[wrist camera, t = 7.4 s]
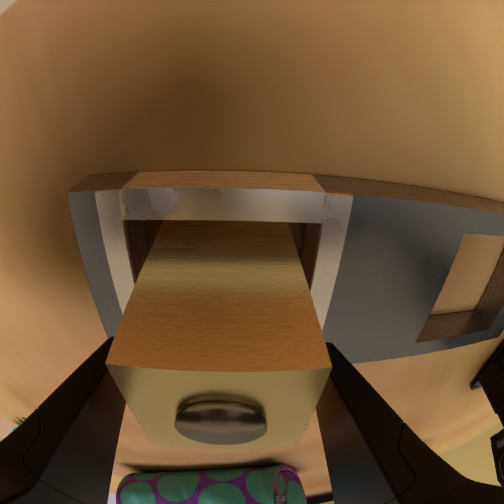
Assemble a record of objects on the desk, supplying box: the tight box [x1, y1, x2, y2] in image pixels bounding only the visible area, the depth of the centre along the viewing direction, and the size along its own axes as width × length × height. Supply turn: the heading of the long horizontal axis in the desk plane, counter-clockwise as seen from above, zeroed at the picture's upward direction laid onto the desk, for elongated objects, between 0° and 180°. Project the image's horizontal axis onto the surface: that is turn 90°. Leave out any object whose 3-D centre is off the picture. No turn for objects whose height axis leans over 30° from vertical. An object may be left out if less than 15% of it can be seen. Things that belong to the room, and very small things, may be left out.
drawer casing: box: [67, 171, 504, 364], centre depth 11 cm, size 22×8×2 cm, turn 87°
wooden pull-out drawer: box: [105, 220, 332, 450], centre depth 9 cm, size 4×4×7 cm
